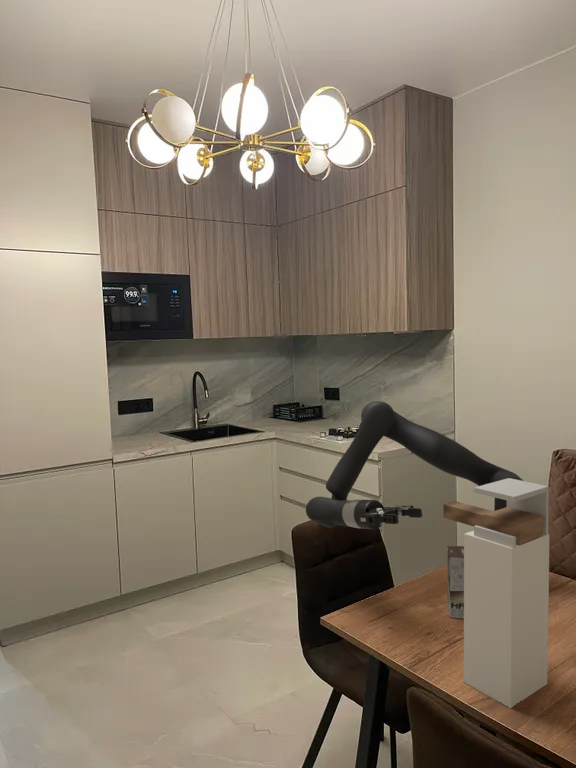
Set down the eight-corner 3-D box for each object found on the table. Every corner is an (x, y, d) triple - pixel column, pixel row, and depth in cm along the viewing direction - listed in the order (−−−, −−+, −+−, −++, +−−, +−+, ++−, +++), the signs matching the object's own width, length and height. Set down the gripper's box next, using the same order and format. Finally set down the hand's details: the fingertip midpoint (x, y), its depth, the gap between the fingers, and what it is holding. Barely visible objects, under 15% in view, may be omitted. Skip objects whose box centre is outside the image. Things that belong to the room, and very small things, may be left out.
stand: (463, 682, 123) (464, 486, 119) (500, 660, 130) (502, 476, 127) (510, 708, 114) (512, 497, 110) (547, 683, 121) (550, 485, 118)
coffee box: (475, 620, 149) (475, 558, 148) (449, 618, 150) (449, 557, 149) (471, 603, 158) (471, 545, 157) (446, 602, 159) (446, 544, 158)
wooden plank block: (437, 519, 129) (437, 501, 129) (460, 512, 134) (460, 495, 133) (519, 544, 113) (519, 524, 112) (542, 535, 117) (542, 515, 117)
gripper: (341, 504, 151) (386, 505, 138) (380, 495, 159) (426, 495, 146) (345, 533, 150) (391, 537, 137) (384, 523, 159) (430, 526, 146)
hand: (409, 516), depth 142 cm, fingers open, 8 cm apart
